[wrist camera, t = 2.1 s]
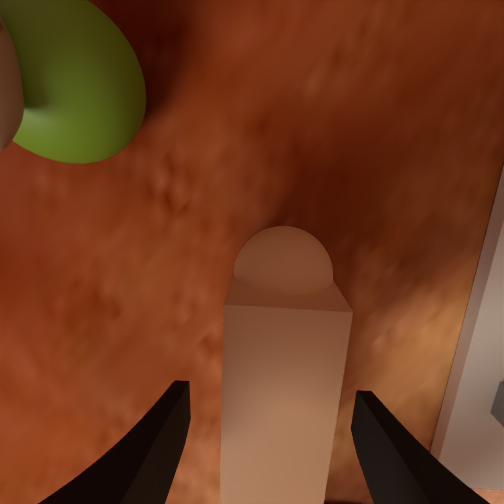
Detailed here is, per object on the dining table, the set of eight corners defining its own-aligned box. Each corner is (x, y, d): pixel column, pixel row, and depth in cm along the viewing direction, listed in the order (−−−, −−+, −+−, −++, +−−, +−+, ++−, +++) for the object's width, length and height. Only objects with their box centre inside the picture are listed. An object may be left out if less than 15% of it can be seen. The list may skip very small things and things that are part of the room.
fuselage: (297, 440, 18) (313, 569, 12) (233, 436, 18) (218, 561, 12) (322, 217, 14) (363, 249, 8) (241, 213, 14) (224, 242, 8)
